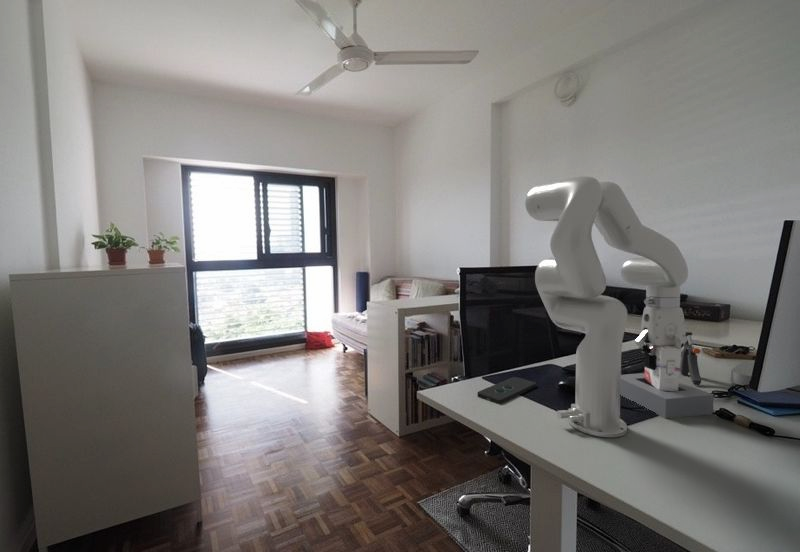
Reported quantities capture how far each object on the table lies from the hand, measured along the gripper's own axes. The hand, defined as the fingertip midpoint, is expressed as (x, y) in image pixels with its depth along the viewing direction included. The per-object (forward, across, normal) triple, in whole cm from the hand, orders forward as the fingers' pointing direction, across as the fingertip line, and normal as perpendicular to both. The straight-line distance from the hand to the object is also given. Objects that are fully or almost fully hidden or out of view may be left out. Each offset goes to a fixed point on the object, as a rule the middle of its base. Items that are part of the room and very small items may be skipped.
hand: (660, 366), depth 102 cm
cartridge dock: (+10, 0, 0) cm, 10 cm away
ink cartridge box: (+5, 0, 0) cm, 5 cm away
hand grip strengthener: (+10, +24, +13) cm, 29 cm away
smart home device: (+10, -38, +16) cm, 42 cm away
